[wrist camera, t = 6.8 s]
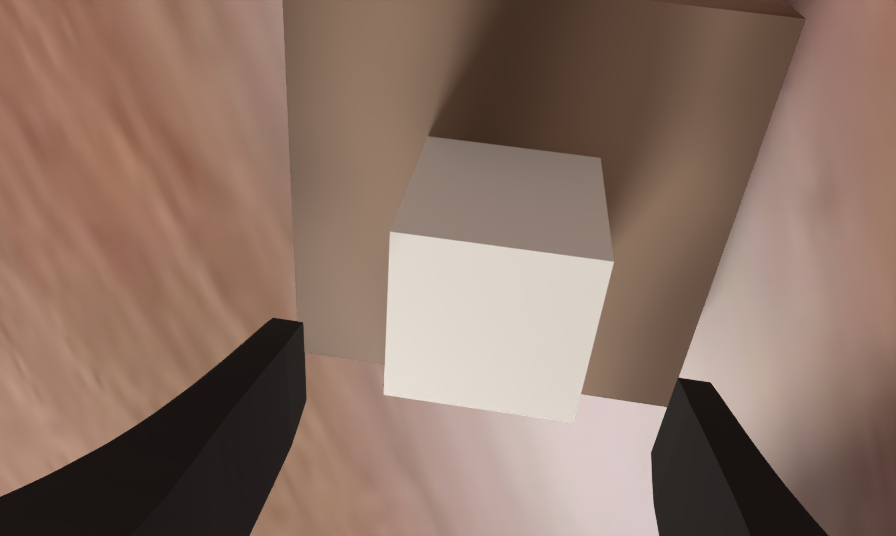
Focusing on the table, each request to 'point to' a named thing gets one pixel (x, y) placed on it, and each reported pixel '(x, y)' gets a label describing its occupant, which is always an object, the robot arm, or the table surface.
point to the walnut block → (532, 146)
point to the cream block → (497, 278)
